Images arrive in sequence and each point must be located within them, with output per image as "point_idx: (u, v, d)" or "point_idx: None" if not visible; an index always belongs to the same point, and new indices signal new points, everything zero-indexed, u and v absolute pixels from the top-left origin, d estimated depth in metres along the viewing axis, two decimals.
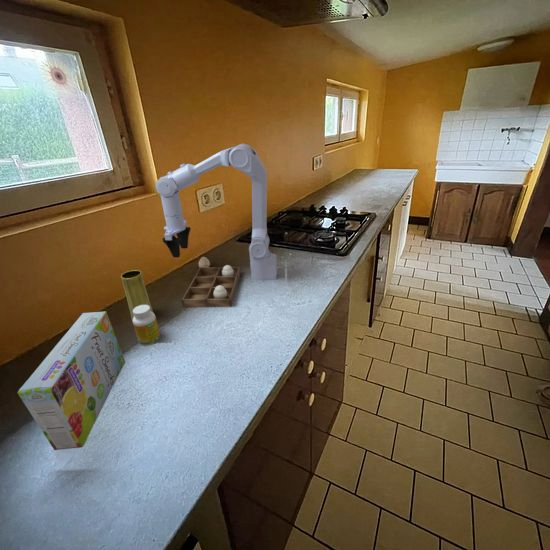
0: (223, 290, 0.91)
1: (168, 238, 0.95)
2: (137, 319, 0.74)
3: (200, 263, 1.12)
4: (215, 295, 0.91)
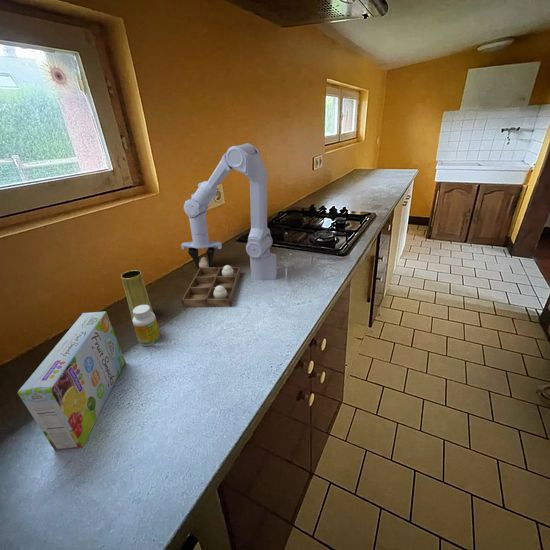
0: (223, 290, 0.91)
1: None
2: (137, 319, 0.74)
3: (200, 263, 1.12)
4: (215, 295, 0.91)
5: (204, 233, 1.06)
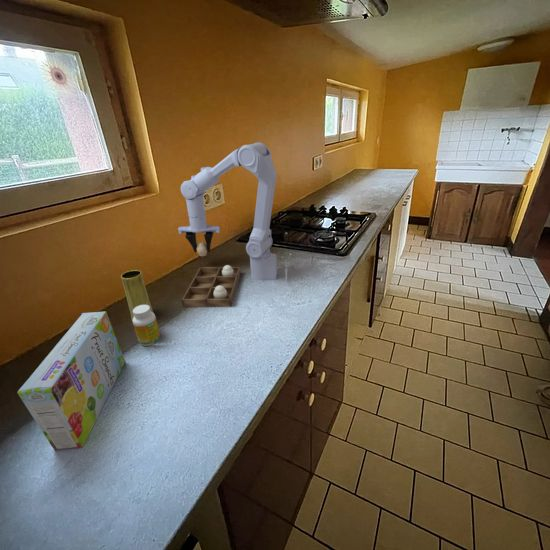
0: (223, 290, 0.91)
1: None
2: (137, 319, 0.74)
3: (198, 248, 1.09)
4: (215, 295, 0.91)
5: (202, 216, 1.04)
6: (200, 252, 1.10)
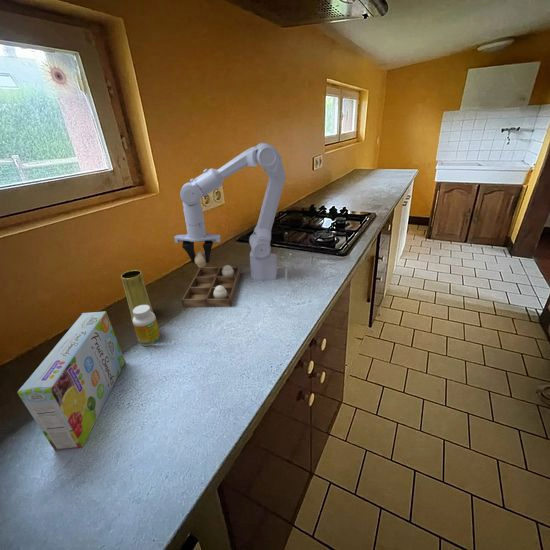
0: (223, 290, 0.91)
1: None
2: (137, 319, 0.74)
3: (196, 258, 0.99)
4: (215, 295, 0.91)
5: (200, 224, 0.93)
6: (198, 263, 0.99)
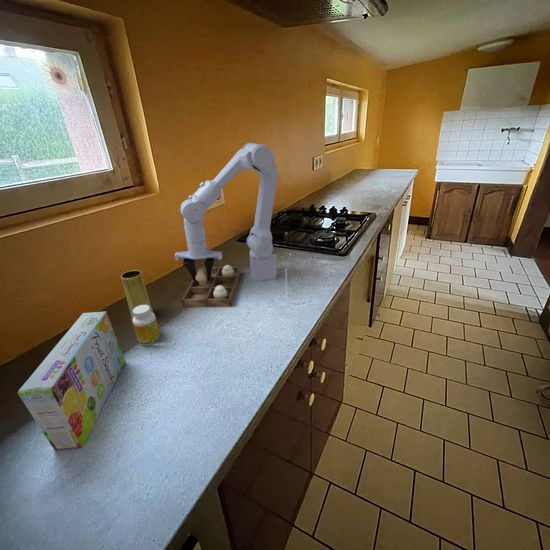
0: (223, 290, 0.91)
1: None
2: (137, 319, 0.74)
3: (197, 276, 0.96)
4: (215, 295, 0.91)
5: (202, 241, 0.91)
6: (200, 280, 0.97)
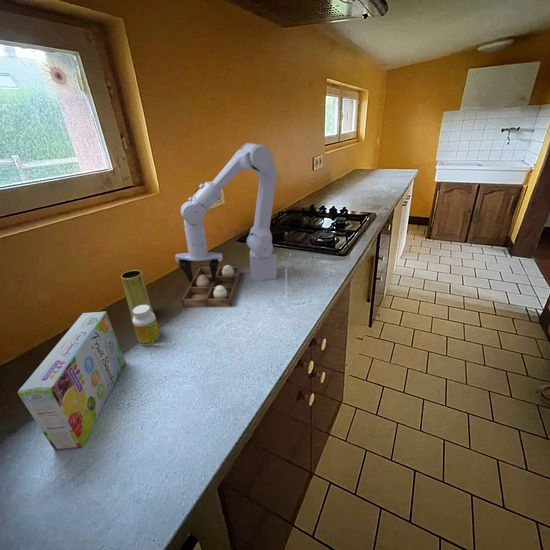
0: (223, 290, 0.91)
1: None
2: (137, 319, 0.74)
3: (198, 282, 0.97)
4: (215, 295, 0.91)
5: (202, 243, 0.91)
6: None
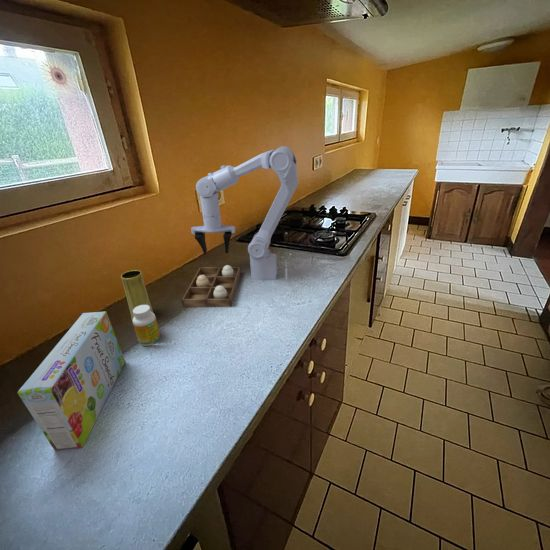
0: (223, 290, 0.91)
1: None
2: (137, 319, 0.74)
3: (198, 282, 0.98)
4: (215, 295, 0.91)
5: (217, 215, 0.98)
6: (200, 286, 0.98)
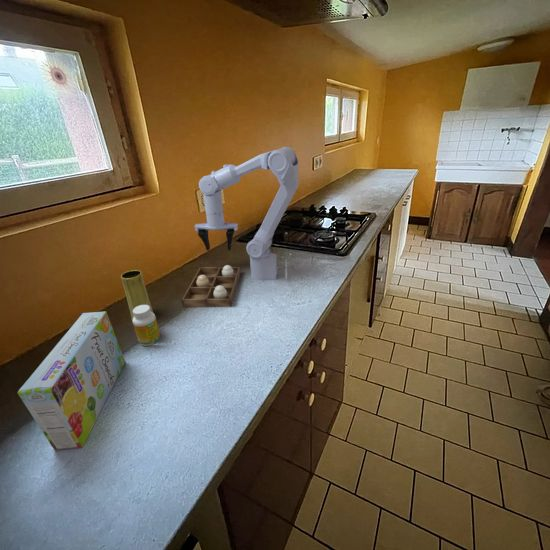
0: (223, 290, 0.91)
1: None
2: (137, 319, 0.74)
3: (198, 282, 0.97)
4: (215, 295, 0.91)
5: (220, 213, 1.00)
6: (200, 286, 0.98)
